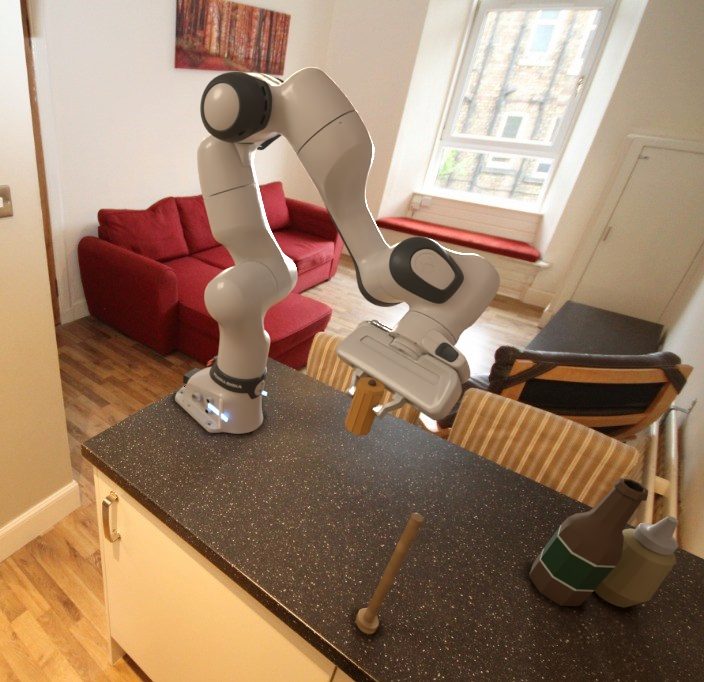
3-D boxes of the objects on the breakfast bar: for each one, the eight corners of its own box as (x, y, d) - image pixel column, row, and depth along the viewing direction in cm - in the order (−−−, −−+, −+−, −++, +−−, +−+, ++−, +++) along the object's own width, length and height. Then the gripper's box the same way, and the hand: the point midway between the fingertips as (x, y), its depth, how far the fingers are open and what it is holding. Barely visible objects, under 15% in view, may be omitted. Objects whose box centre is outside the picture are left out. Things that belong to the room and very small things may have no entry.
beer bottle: (516, 573, 77) (588, 472, 65) (544, 558, 80) (618, 460, 68) (564, 616, 71) (653, 514, 59) (592, 599, 73) (682, 498, 62)
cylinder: (340, 427, 75) (355, 379, 71) (351, 416, 78) (366, 370, 73) (362, 439, 73) (380, 390, 68) (373, 427, 76) (390, 380, 71)
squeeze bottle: (622, 622, 70) (694, 550, 62) (568, 577, 77) (626, 505, 68) (649, 604, 73) (721, 533, 65) (595, 562, 80) (654, 491, 71)
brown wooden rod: (352, 623, 67) (401, 516, 55) (360, 609, 69) (409, 503, 57) (371, 638, 65) (426, 531, 54) (379, 623, 67) (434, 517, 56)
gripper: (362, 306, 78) (310, 365, 78) (476, 364, 63) (412, 437, 63) (371, 324, 82) (322, 380, 83) (480, 382, 68) (420, 450, 68)
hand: (362, 405), depth 73 cm, fingers closed on cylinder, 4 cm apart
